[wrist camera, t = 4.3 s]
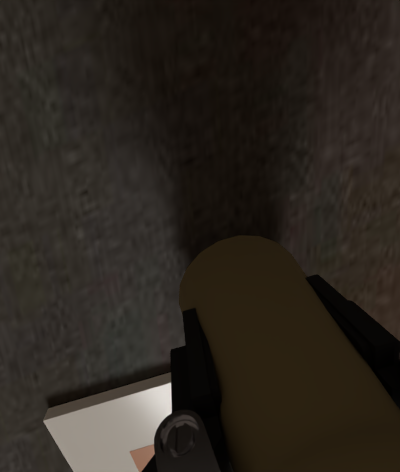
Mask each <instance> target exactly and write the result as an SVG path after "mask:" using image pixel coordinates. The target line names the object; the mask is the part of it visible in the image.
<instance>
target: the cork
mask: <svg viewBox="0 0 400 472" xmlns="http://www.w3.org/2000/svg"><path fill="white" fill-rule="evenodd" d="M306 277H307V276H306V275H305V273H304V272H303V270H302V269H301V267H300V266H299V265H298V263H297V262H296V260H295V259H294V257H293V256H292V254H291V253H289V252H288V251H287V250H286V249H285V248H283V247H282V246H281V245H280V244H279V243H277V242H275V241H272V240H269V239H267V238H264V237H261V236H245V235H238V236H235V237H231V238H227V239H224V240H220V241H218V242H216V243H214V244H213V245H211V246H210V247H208V248H207V249H205V250H203V251H202V252H200V253H199V255H198V256H197V257H196V258H195V259H194V260H193V262H192V263H191V264H190V265H189V266H188V267H187V269H186V272H185V274H184V276H183V279H182V281H181V284H180V291H179V305H180V308H181V311H182V314H183V311H185V310H188V309H192V308H196V313H197V318H198V320H199V323H200V325H201V327H202V329H203V331H204V333H205V336H206V338H207V340H208V343H209V348H210V352H211V356H212V361H213V365H214V370H215V374H216V379H217V383H218V387H219V392H220V396H221V401H222V402H221V404H220V410H219V422H220V427H221V432H222V436H223V441H224V445H225V448H226V451H227V454H228V457H229V460H230V463H231V466H232V470H233V472H400V409H399V408H398V406H397V405H396V404H395V402H394V401H393V399H392V398H391V396H390V395H389V394H388V392H387V391H386V389H385V388H384V386H383V385H382V384H381V382H380V381H379V379H378V378H377V376H376V375H375V373H374V372H373V371H372V369H371V368H370V366H369V365H368V363H367V362H366V361H365V360H364V358H363V357H362V356H361V354H360V353H359V352H358V351H357V349H356V348H355V347H354V345H353V344H352V343H351V341H350V340H349V339H348V337H347V336H346V335H345V333H344V332H343V331H342V329H341V328H340V327H339V325H338V324H337V323H336V321H335V320H334V319H333V317H332V316H331V315H330V313H329V312H328V311H327V309H326V308H325V307H324V305H323V303H322V302H321V300H320V299H319V297H318V296H317V294H316V293H315V291H314V290H313V288H312V286H311V285H310V284H309V282H308V281H307V280H306V279H305V278H306Z"/></svg>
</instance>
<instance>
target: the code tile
mask: <svg viewBox="0 0 400 472" xmlns="http://www.w3.org/2000/svg"><path fill="white" fill-rule="evenodd" d="M171 413H172V400H171V372H170V373H166V374H163V375H160V376H156V377H153V378H149V379H146V380H143V381H139V382H136V383H133V384H129V385H126V386H122V387H119V388H116V389H112V390H109V391H106V392H102V393H99V394H95V395H92V396H89V397H85V398H82V399H79V400H75V401H72V402H68V403H65V404H62V405H58V406H55V407H52V408H48V410H47V413H46V415H45V417H44V420H43V422H44V423H45V425H46V427H47V428H48V430H49V432H50V433H51V435H52V437H53V438H54V440H55V442H56V443H57V445H58V447H59V448H60V450H61V452H62V453H63V455H64V457H65V458H66V460H67V462H68V463H69V465H70V467H71V468H72V470H73V472H142V470H143V469H144V468H145V466H146V465H147V463H148V462H149V461H150V459H151V458H152V457H153V455H154V454H155V451H154V437H155V433H156V430H157V428H158V427H159V425H160V423H161V422H162V421H163V420H164V419H165V418H166V417H167V416H168V415H170V414H171Z"/></svg>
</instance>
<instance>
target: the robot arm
mask: <svg viewBox="0 0 400 472" xmlns="http://www.w3.org/2000/svg"><path fill="white" fill-rule="evenodd" d="M305 279H306V280H307V281H308V282H309V284H310V285H311V286H312V288H313V290H314V291H315V293H316V294H317V296H318V297H319V299H320V300H321V302H322V303H323V305H324V307H325V308H326V309H327V311H328V312H329V313H330V315H331V316H332V317H333V319H334V320H335V321H336V323H337V324H338V325H339V327H340V328H341V329H342V331H343V332H344V333H345V335H346V336H347V337H348V339H349V340H350V341H351V343H352V344H353V345H354V347H355V348H356V349H357V351H358V352H359V353H360V354H361V356H362V357H363V358H364V360H365V361H366V362H367V363H368V365H369V366H370V368H371V369H372V371H373V372H374V373H375V375H376V376H377V378H378V379H379V381H380V382H381V384H382V385H383V386H384V388H385V389H386V391H387V392H388V394H389V395H390V396H391V398H392V399H393V401H394V402H395V404H396V405H397V406H398V408H399V409H400V341H399V340H397V339H396V338H395V337H394V336H393V335H392V334H390V333H389V332H388V331H387V330H386V329H385V328H383V327H382V326H381V325H380V324H379V323H378V322H376V321H375V320H374V319H373V318H372V317H371V316H369V315H368V314H367V313H366V312H365V311H364V310H362V309H361V308H360V307H359V306H358V305H357V304H355V303H354V302H352V301H350V300H347V299H345V298H344V297H343V296H342V295H341V294H340V293H339V292H337V291H336V290H335V289H334V288H333V287H332V286H331V285H329V284H328V283H327V282H326V281H325V280H324V279H323V278H321V277H320V276H319V275H313V276H309V277H306V278H305ZM183 322H184V332H185V342H186V346H182V347H179V348H175V349H171V353H170V356H171V400H172V413H171V414H170V415H168V416H167V417H166V418H165V419H164V420H163V421H162V422H161V423H160V425H159V427H158V428H157V430H156V433H155V437H154V451H155V454H154V455H153V457H152V458H151V459H150V461H149V462H148V463H147V465H146V466H145V468H144V469H143V470H142V472H233V470H232V466H231V463H230V460H229V457H228V454H227V451H226V448H225V445H224V441H223V436H222V432H221V427H220V422H219V410H220V404H221V402H222V401H221V396H220V392H219V387H218V383H217V379H216V374H215V370H214V365H213V361H212V356H211V352H210V348H209V343H208V340H207V338H206V336H205V333H204V331H203V329H202V327H201V325H200V323H199V320H198V318H197V313H196V308H192V309H188V310H185V311H183Z"/></svg>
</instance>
